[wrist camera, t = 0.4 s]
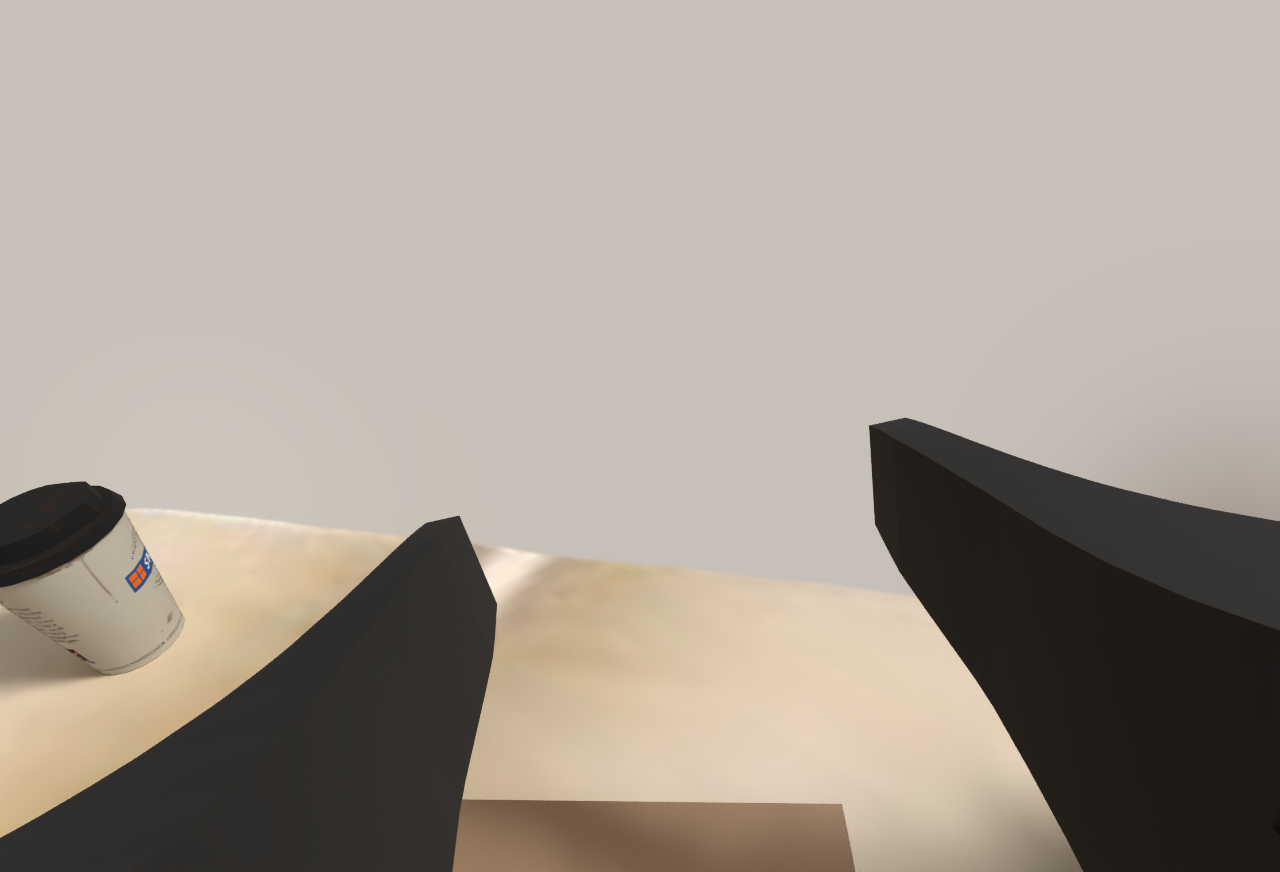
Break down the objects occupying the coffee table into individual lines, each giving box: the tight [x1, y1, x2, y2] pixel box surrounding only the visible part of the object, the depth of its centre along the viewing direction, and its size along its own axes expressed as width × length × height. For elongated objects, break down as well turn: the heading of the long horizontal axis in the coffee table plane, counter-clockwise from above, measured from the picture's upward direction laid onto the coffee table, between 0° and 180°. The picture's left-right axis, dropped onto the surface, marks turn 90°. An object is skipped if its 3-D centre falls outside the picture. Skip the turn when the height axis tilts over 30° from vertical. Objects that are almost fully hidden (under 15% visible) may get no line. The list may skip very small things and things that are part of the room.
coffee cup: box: [0, 482, 185, 675], centre depth 33 cm, size 7×7×10 cm
